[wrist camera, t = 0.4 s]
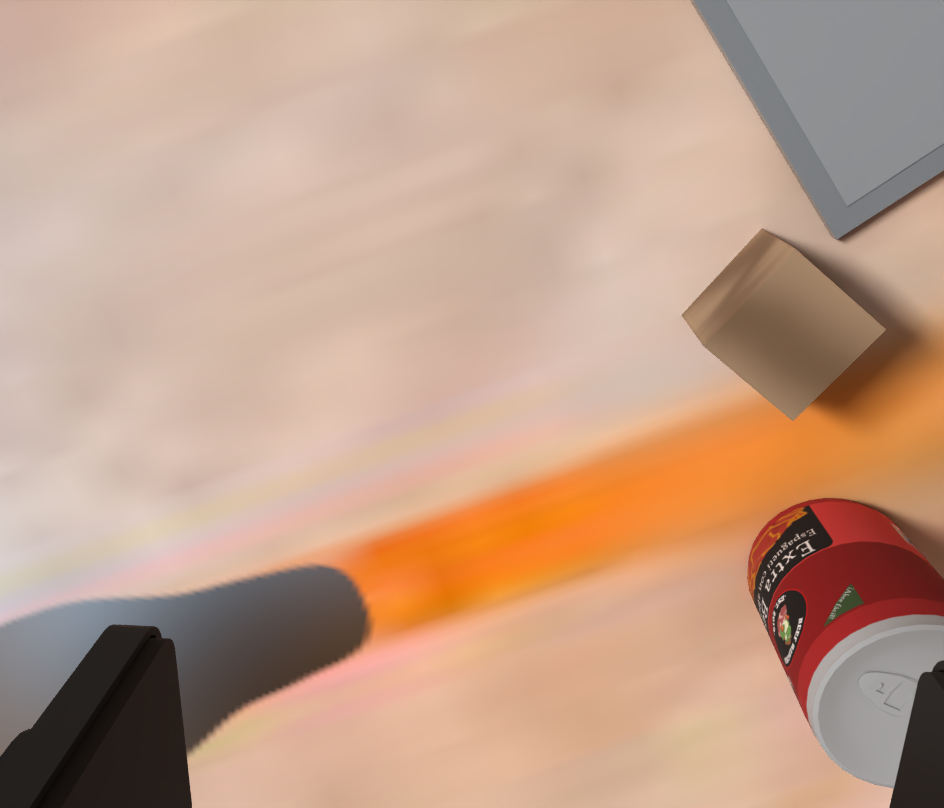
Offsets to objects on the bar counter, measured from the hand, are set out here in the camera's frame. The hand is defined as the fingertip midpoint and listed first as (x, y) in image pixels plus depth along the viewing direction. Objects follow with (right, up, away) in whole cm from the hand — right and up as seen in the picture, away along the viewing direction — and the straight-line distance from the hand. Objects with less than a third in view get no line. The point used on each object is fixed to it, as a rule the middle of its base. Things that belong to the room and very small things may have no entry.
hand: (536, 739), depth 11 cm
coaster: (+16, +19, +25) cm, 35 cm away
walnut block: (+12, +9, +29) cm, 32 cm away
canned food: (+17, -4, +33) cm, 37 cm away
